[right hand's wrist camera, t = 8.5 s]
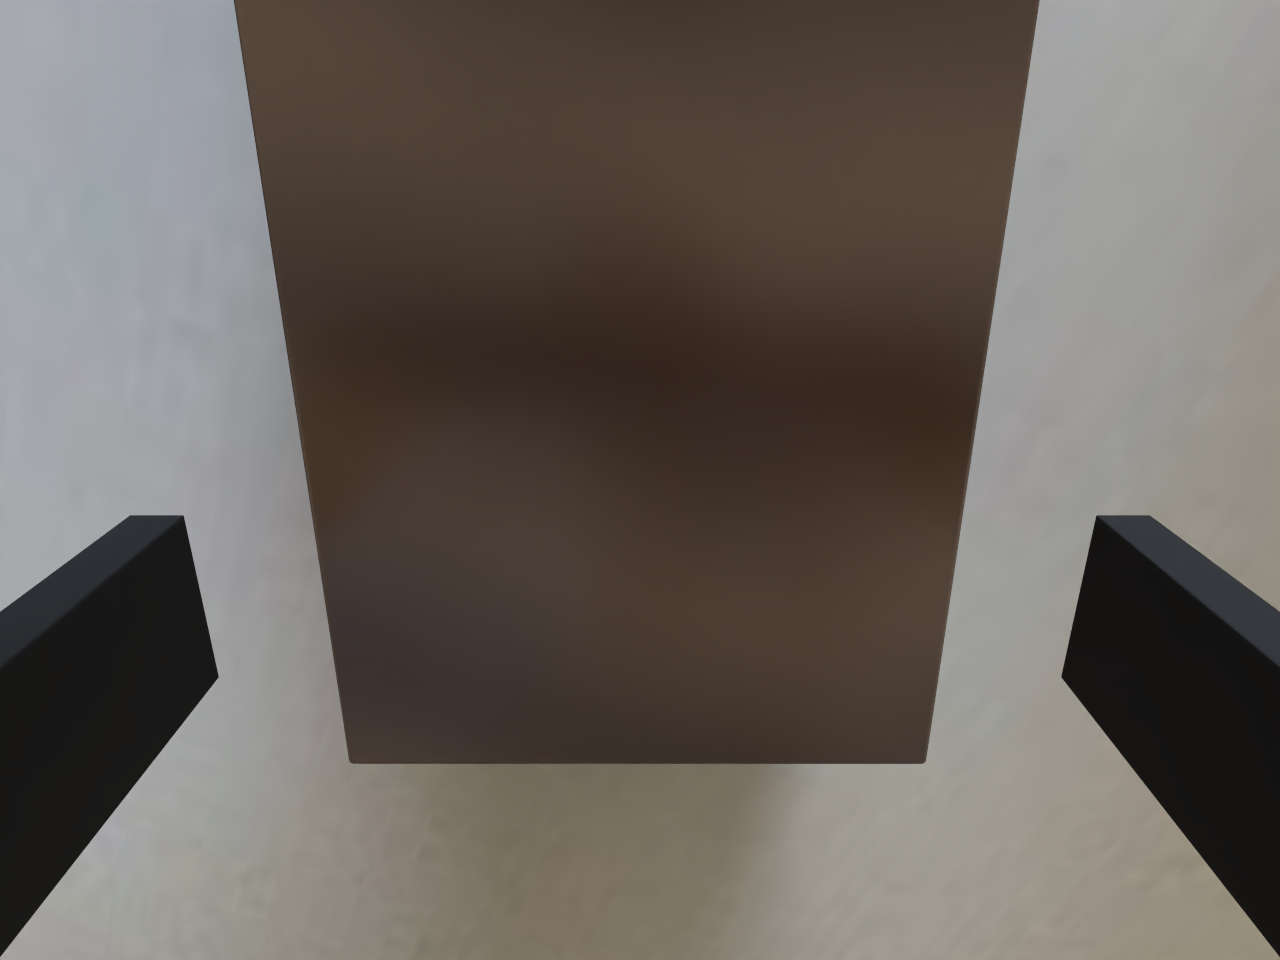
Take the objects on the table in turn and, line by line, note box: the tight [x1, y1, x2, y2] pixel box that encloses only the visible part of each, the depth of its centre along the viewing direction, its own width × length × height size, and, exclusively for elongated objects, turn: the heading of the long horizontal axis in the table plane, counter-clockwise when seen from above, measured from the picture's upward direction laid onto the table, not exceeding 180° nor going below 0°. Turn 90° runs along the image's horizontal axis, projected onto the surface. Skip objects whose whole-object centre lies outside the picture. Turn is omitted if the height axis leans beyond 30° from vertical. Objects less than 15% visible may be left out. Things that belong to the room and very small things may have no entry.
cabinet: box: [234, 0, 1039, 764], centre depth 18 cm, size 17×11×8 cm
